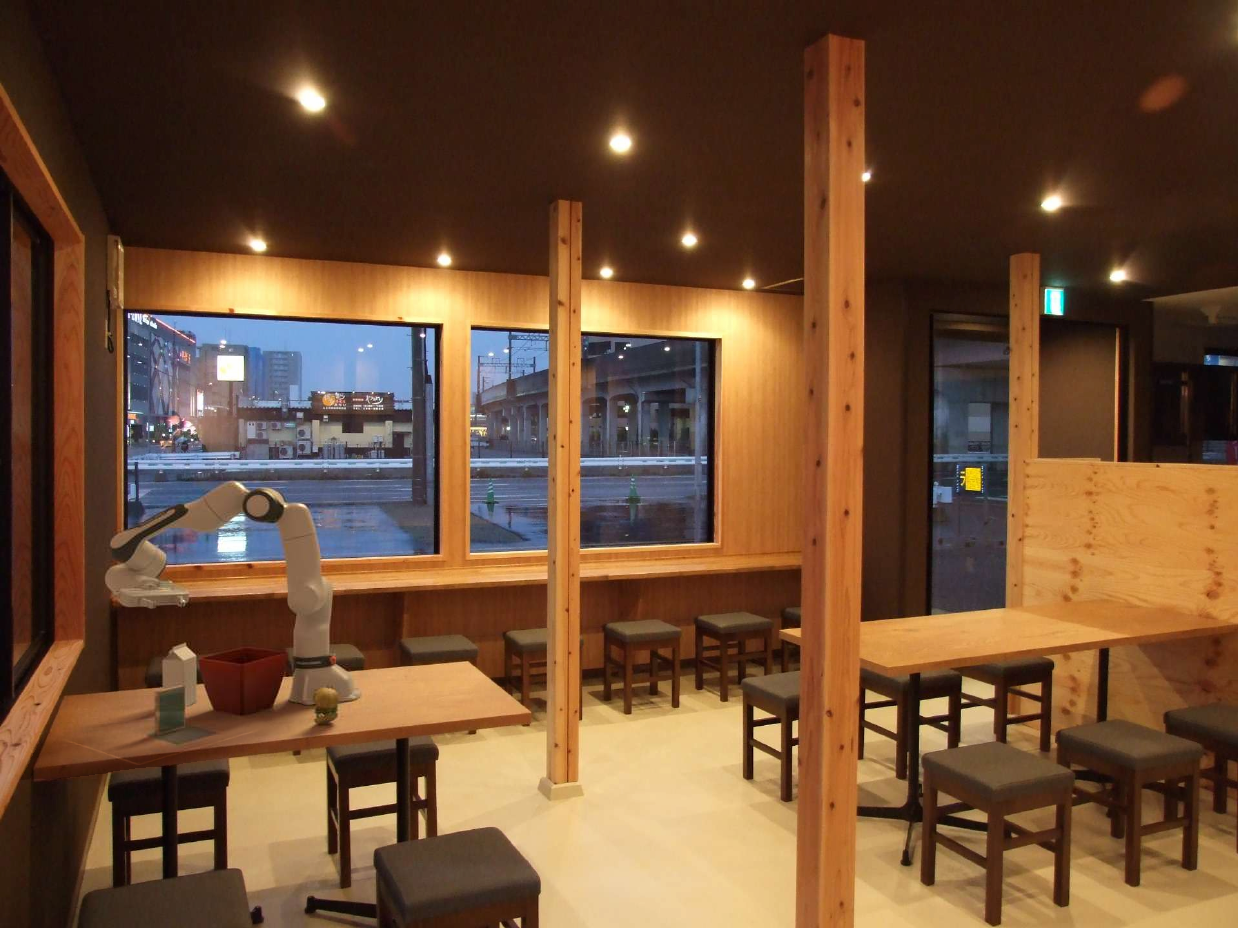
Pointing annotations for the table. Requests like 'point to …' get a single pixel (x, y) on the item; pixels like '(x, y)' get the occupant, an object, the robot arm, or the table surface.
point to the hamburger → (326, 705)
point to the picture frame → (169, 709)
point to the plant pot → (243, 679)
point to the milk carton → (181, 672)
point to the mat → (183, 734)
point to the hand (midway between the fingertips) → (168, 604)
